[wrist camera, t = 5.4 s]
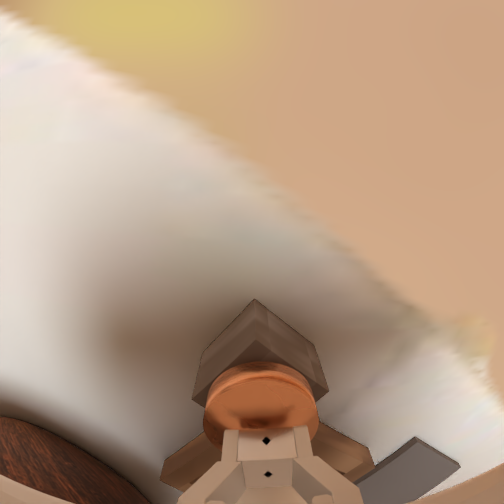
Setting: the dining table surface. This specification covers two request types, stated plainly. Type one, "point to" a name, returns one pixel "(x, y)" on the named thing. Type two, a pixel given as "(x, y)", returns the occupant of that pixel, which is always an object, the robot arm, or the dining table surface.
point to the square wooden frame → (262, 350)
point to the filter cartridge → (271, 496)
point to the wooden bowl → (59, 467)
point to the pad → (406, 474)
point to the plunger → (258, 400)
